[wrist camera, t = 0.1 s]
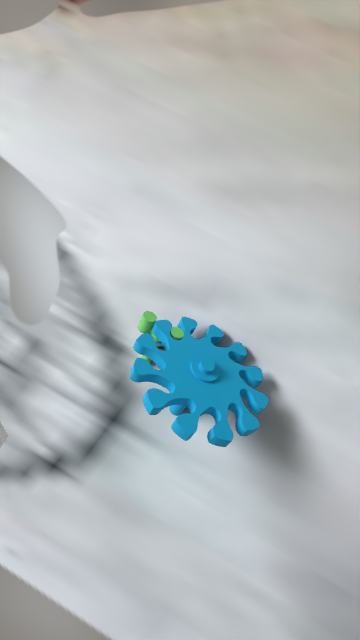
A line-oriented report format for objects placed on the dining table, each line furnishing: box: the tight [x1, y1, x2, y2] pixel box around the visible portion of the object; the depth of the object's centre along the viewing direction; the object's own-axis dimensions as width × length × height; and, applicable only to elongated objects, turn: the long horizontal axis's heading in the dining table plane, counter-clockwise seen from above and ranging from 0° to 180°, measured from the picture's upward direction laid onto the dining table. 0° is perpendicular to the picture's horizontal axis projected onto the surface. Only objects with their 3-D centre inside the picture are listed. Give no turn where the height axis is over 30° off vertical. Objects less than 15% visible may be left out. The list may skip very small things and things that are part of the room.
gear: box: [130, 311, 269, 447], centre depth 24 cm, size 11×6×10 cm
